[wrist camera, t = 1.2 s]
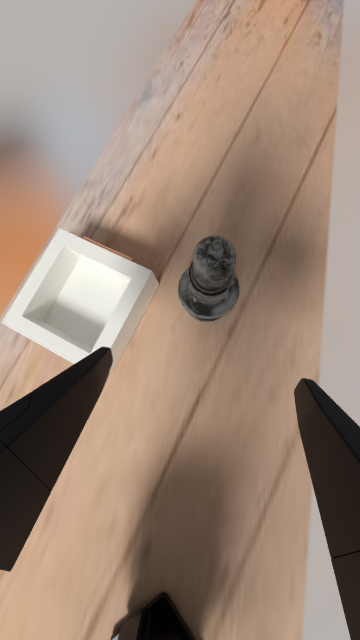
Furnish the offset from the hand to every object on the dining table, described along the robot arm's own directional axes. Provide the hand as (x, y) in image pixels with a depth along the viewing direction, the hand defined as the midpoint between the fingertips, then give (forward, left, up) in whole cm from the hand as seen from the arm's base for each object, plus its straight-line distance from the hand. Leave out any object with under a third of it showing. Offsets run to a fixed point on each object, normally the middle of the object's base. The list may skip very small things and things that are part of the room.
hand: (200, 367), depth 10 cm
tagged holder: (+12, +6, -13) cm, 19 cm away
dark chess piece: (+5, -5, -13) cm, 15 cm away
